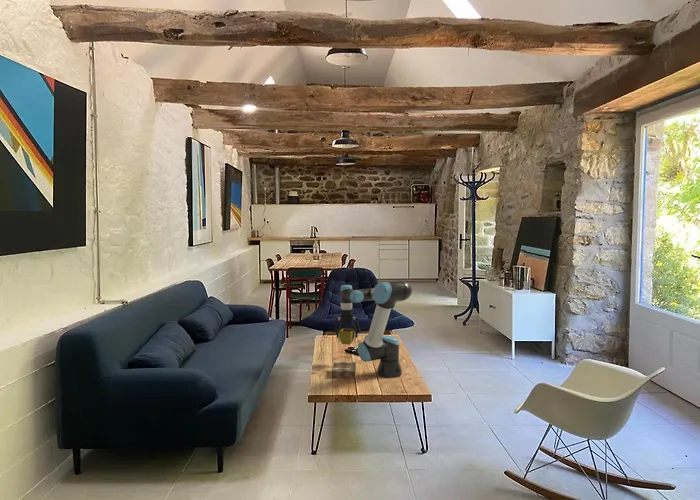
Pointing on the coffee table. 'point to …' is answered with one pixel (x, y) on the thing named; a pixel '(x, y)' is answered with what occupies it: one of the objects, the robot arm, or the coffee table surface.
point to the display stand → (344, 370)
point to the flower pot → (346, 336)
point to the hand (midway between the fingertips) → (347, 342)
